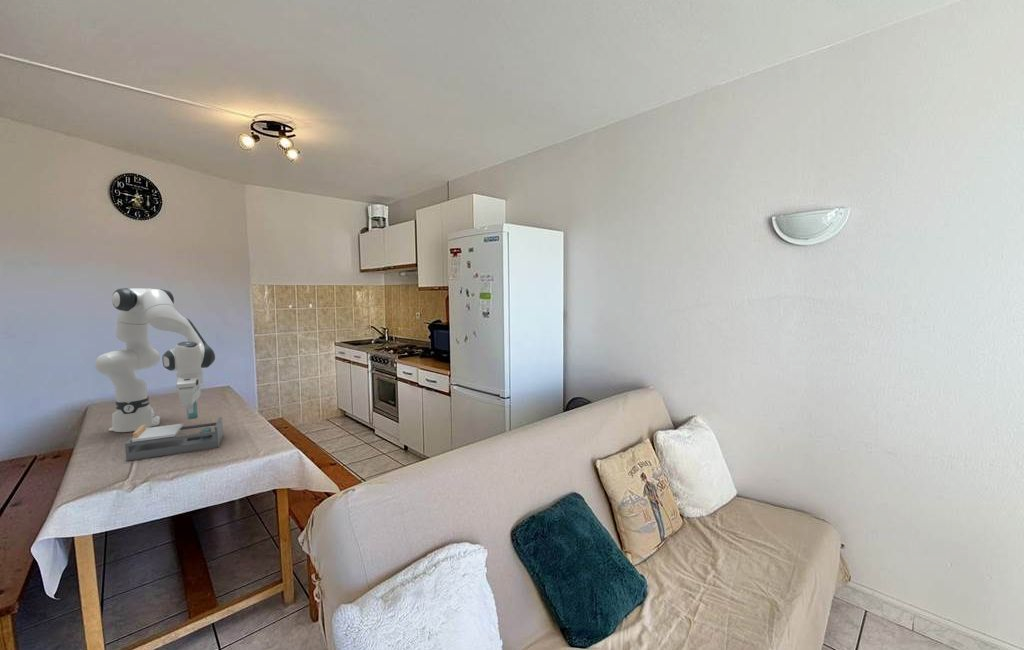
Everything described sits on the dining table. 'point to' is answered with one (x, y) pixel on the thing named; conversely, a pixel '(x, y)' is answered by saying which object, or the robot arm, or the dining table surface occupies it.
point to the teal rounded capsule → (195, 413)
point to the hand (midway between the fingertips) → (192, 411)
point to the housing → (176, 442)
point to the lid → (156, 432)
